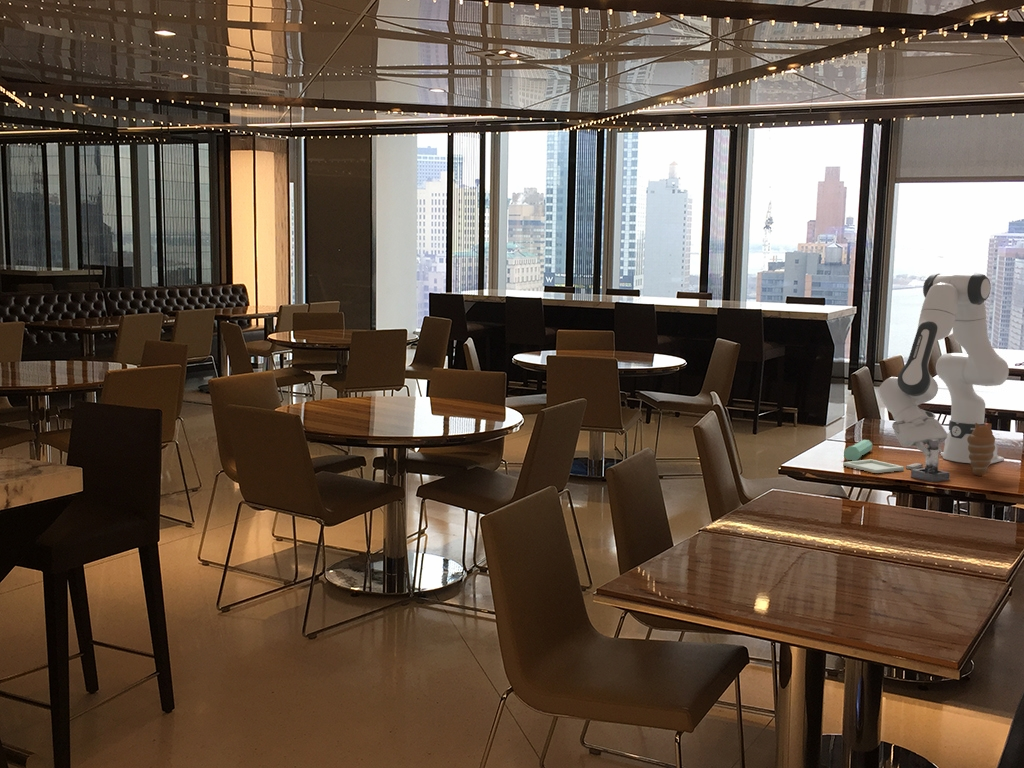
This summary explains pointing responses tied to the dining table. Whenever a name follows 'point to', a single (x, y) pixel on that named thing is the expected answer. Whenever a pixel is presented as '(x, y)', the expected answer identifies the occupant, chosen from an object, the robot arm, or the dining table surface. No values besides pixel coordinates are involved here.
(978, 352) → the robot arm
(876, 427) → the dining table surface
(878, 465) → the tray
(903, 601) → the dining table surface
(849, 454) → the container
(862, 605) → the dining table surface
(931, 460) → the grey capped bottle
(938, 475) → the socket collar
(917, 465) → the drift key
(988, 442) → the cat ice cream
